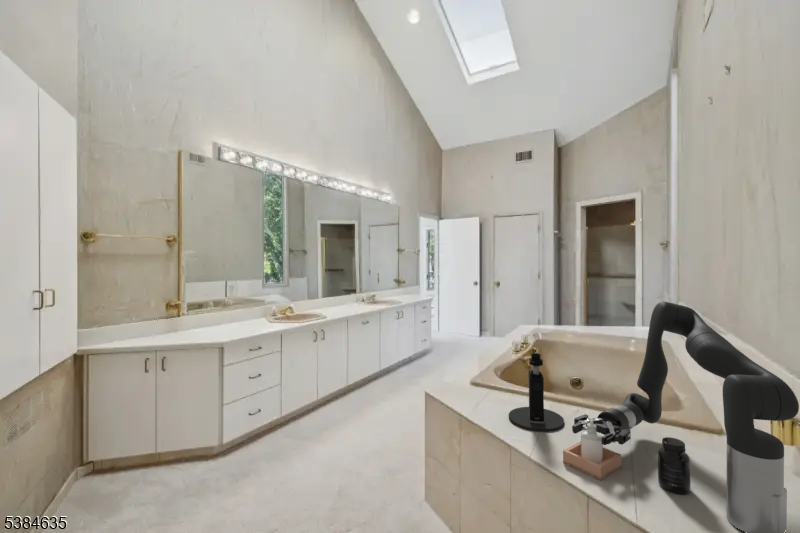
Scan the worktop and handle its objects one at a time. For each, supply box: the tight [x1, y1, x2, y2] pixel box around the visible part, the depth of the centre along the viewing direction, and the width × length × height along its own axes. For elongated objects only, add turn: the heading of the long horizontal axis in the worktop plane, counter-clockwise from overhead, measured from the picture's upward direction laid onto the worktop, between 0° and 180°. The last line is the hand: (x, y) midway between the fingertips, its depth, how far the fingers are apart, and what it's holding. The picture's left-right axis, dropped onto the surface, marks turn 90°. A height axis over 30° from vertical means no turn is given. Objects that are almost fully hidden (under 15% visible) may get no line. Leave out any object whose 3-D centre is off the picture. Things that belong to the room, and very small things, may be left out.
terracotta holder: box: [562, 440, 622, 481], centre depth 110 cm, size 11×11×4 cm
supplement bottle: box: [657, 436, 692, 495], centre depth 98 cm, size 7×7×12 cm
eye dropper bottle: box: [580, 420, 604, 464], centre depth 110 cm, size 4×6×12 cm
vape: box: [508, 352, 565, 433], centre depth 139 cm, size 19×19×25 cm
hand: (587, 435), depth 108 cm, fingers open, 8 cm apart
